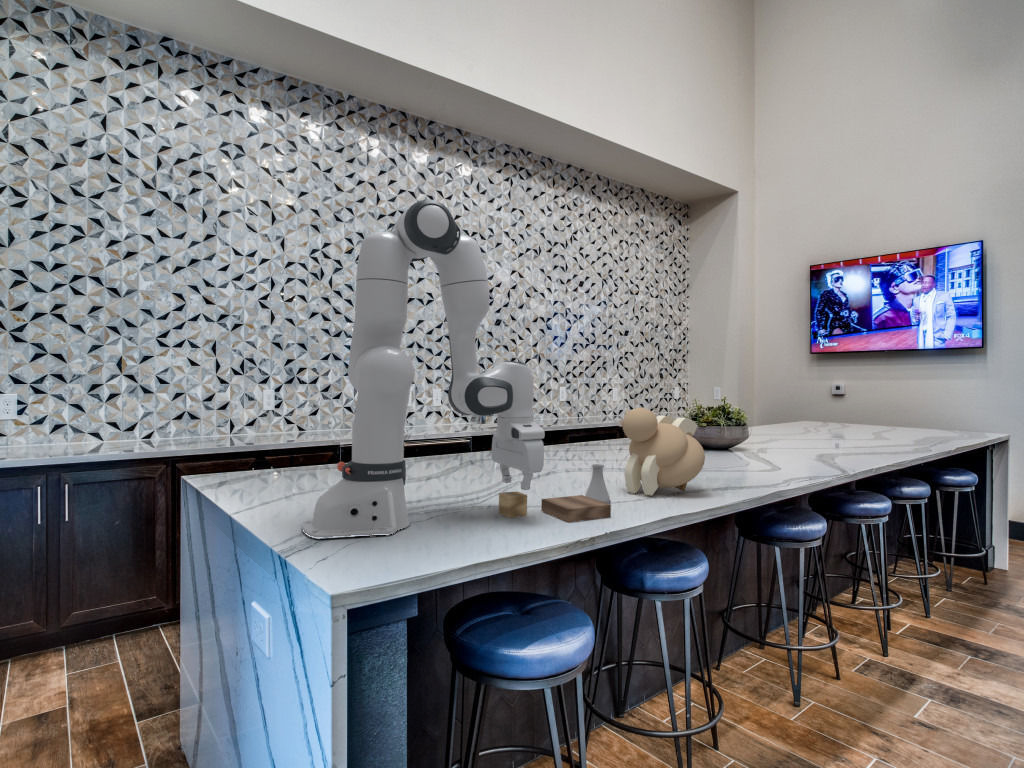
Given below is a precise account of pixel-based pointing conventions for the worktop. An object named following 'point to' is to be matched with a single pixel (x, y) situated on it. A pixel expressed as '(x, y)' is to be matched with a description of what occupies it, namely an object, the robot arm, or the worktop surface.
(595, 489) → the flask
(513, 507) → the oak cube
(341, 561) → the worktop surface
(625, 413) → the tan rounded figure
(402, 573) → the worktop surface
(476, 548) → the worktop surface
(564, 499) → the walnut base
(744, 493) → the worktop surface
